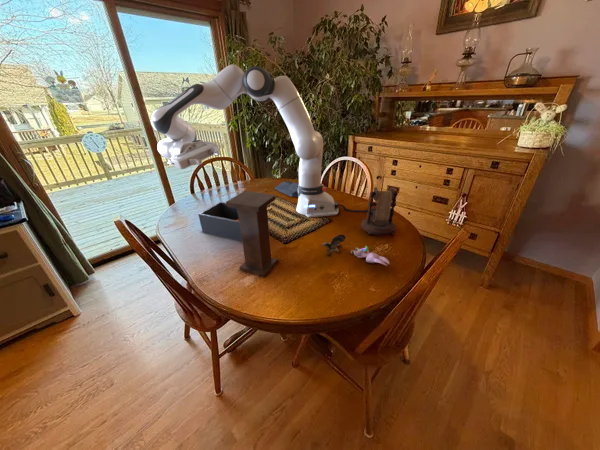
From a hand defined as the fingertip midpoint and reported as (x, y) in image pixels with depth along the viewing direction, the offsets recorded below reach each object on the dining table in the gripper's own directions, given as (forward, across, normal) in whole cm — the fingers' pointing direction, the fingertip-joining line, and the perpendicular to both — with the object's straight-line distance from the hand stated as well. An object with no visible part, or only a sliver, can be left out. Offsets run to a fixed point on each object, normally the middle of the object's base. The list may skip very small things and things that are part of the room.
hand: (209, 157), depth 94 cm
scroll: (+64, +28, +36) cm, 78 cm away
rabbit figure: (+67, +3, +31) cm, 74 cm away
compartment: (+6, -4, +32) cm, 33 cm away
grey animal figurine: (+53, +3, +32) cm, 62 cm away
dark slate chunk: (+3, +51, +42) cm, 66 cm away
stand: (+34, -19, +28) cm, 48 cm away
